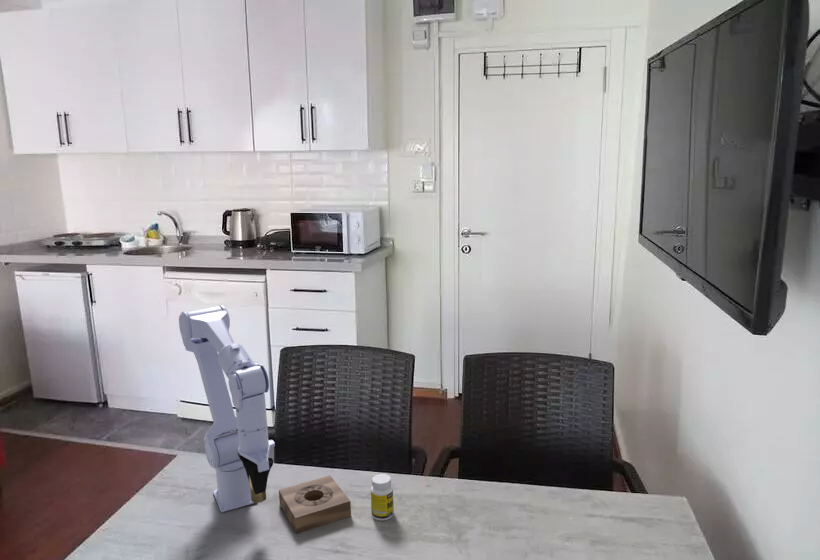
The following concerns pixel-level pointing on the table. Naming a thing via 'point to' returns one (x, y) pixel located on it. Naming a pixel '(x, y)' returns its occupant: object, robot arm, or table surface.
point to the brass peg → (256, 495)
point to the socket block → (314, 503)
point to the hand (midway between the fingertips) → (257, 488)
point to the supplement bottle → (382, 497)
